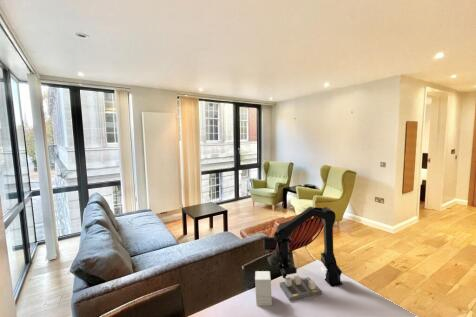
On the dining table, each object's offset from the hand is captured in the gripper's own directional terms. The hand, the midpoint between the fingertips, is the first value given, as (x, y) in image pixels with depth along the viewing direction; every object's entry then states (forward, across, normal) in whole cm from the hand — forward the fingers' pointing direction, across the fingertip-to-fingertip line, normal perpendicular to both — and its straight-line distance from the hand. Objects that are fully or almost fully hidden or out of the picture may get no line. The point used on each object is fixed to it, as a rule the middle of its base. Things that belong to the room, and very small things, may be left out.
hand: (284, 277), depth 123 cm
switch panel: (+3, +8, +5) cm, 10 cm away
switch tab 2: (+1, +5, +5) cm, 7 cm away
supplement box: (+3, +10, -15) cm, 18 cm away
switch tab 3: (+1, +11, +10) cm, 15 cm away
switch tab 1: (+1, +6, 0) cm, 6 cm away
